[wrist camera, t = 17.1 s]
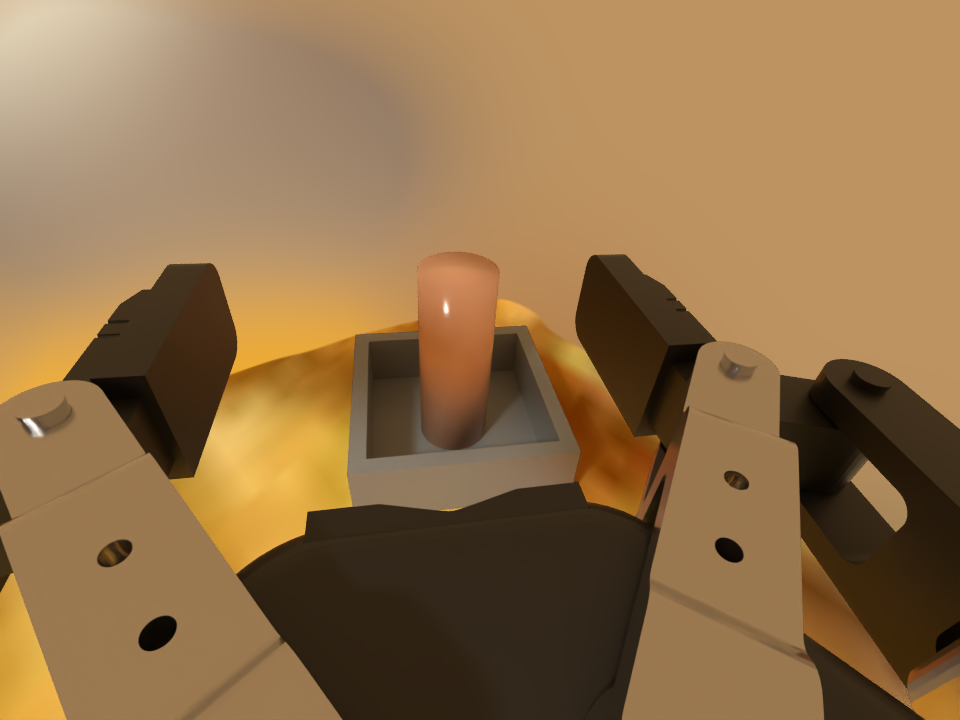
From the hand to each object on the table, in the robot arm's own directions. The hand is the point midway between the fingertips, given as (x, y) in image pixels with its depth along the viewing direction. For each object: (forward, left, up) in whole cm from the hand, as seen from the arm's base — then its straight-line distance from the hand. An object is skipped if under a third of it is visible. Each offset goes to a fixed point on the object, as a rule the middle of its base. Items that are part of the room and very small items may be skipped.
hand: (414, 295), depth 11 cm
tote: (+4, +20, -25) cm, 32 cm away
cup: (+4, +20, -25) cm, 32 cm away
